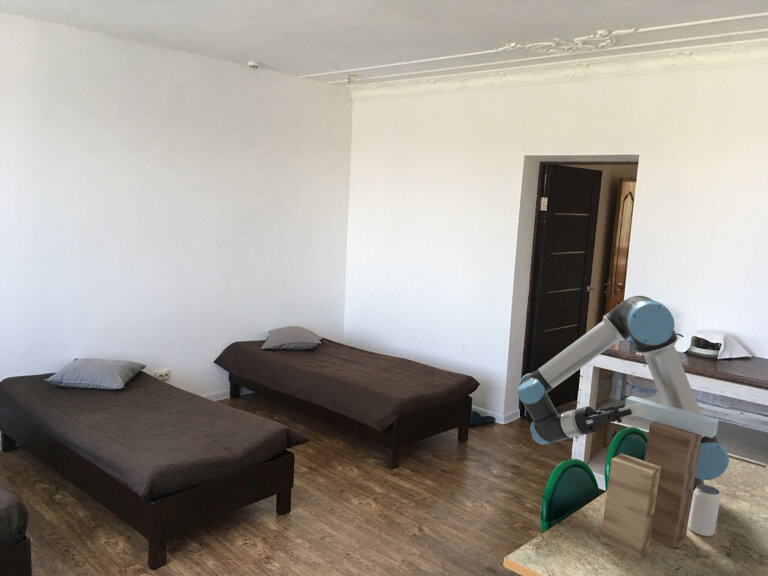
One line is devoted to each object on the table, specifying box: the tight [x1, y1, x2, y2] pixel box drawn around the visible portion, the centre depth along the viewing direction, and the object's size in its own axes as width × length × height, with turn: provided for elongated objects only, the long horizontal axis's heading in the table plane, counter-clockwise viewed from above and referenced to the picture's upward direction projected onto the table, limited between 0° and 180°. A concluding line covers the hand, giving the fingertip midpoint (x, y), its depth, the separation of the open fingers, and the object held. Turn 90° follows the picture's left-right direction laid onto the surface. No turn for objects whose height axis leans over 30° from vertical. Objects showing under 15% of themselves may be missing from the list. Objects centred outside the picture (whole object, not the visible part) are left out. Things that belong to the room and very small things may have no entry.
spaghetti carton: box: [624, 395, 720, 438], centre depth 162 cm, size 22×4×4 cm, turn 47°
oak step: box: [600, 453, 661, 559], centre depth 156 cm, size 6×10×22 cm, turn 47°
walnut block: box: [644, 421, 702, 549], centre depth 163 cm, size 10×10×30 cm
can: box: [687, 484, 721, 538], centre depth 168 cm, size 6×6×12 cm
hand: (652, 403), depth 165 cm, fingers open, 11 cm apart
